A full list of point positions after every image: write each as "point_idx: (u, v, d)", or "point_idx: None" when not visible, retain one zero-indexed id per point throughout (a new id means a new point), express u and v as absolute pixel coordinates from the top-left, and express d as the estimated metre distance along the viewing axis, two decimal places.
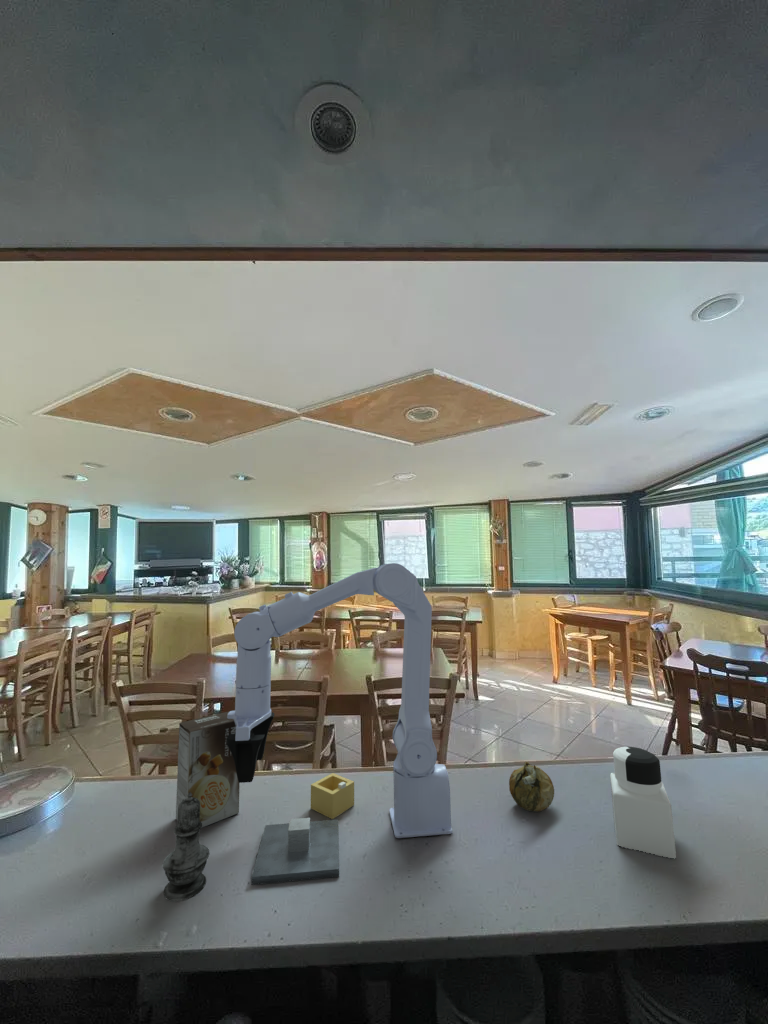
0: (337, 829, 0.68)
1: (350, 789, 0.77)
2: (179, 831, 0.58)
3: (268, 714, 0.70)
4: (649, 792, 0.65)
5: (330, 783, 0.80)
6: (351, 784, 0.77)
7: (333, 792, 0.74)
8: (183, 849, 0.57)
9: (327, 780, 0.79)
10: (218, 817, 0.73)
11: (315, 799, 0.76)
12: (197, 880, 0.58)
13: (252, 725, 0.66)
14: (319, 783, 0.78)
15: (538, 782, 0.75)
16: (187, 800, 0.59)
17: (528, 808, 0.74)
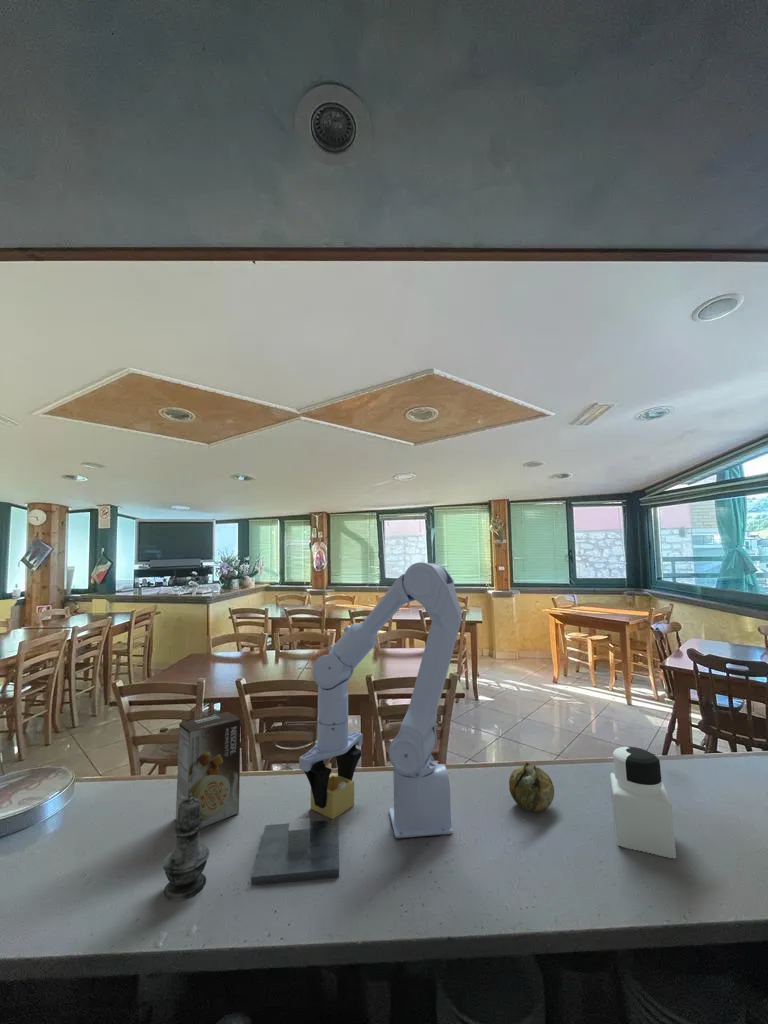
0: (337, 829, 0.68)
1: (350, 789, 0.77)
2: (179, 831, 0.58)
3: (339, 751, 0.76)
4: (649, 792, 0.65)
5: (330, 783, 0.80)
6: (351, 784, 0.77)
7: (333, 792, 0.74)
8: (183, 848, 0.57)
9: None
10: (218, 817, 0.73)
11: None
12: (197, 880, 0.58)
13: (314, 759, 0.73)
14: None
15: (538, 782, 0.75)
16: (187, 800, 0.59)
17: (528, 808, 0.74)
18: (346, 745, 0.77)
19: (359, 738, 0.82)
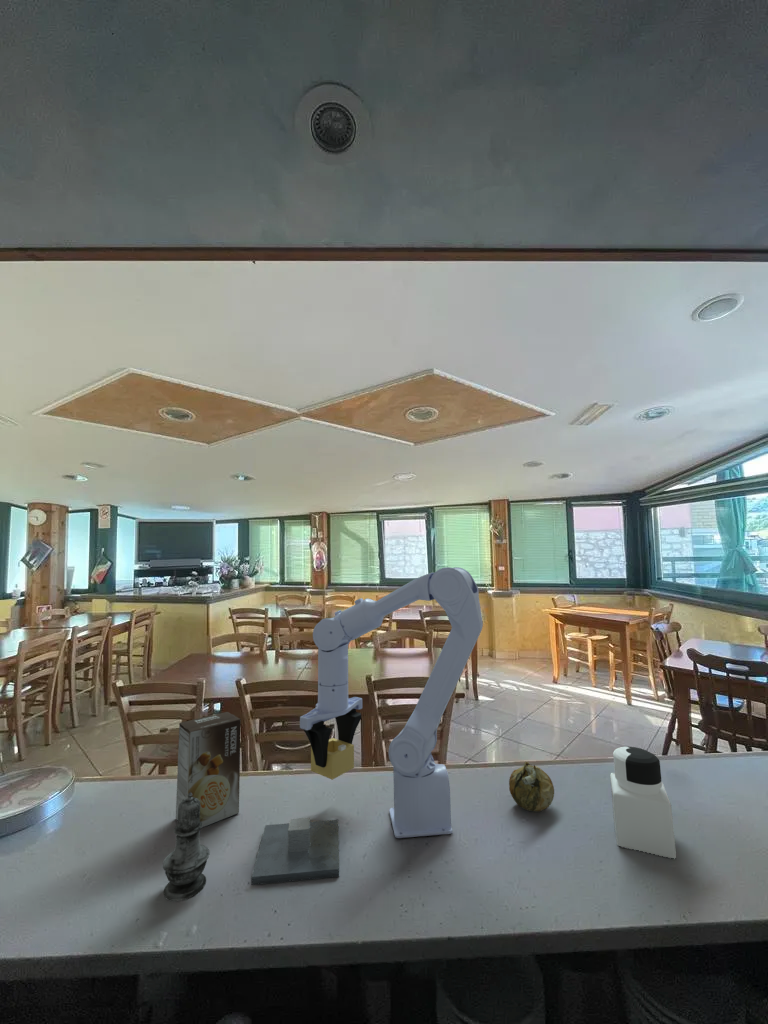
0: (337, 829, 0.68)
1: (350, 752, 0.78)
2: (179, 831, 0.58)
3: (339, 712, 0.77)
4: (649, 792, 0.65)
5: (330, 747, 0.81)
6: (351, 747, 0.78)
7: (333, 754, 0.75)
8: (183, 849, 0.57)
9: None
10: (218, 817, 0.73)
11: None
12: (197, 880, 0.58)
13: (314, 718, 0.74)
14: None
15: (538, 782, 0.75)
16: (187, 800, 0.59)
17: (528, 808, 0.74)
18: (346, 707, 0.78)
19: (359, 702, 0.83)
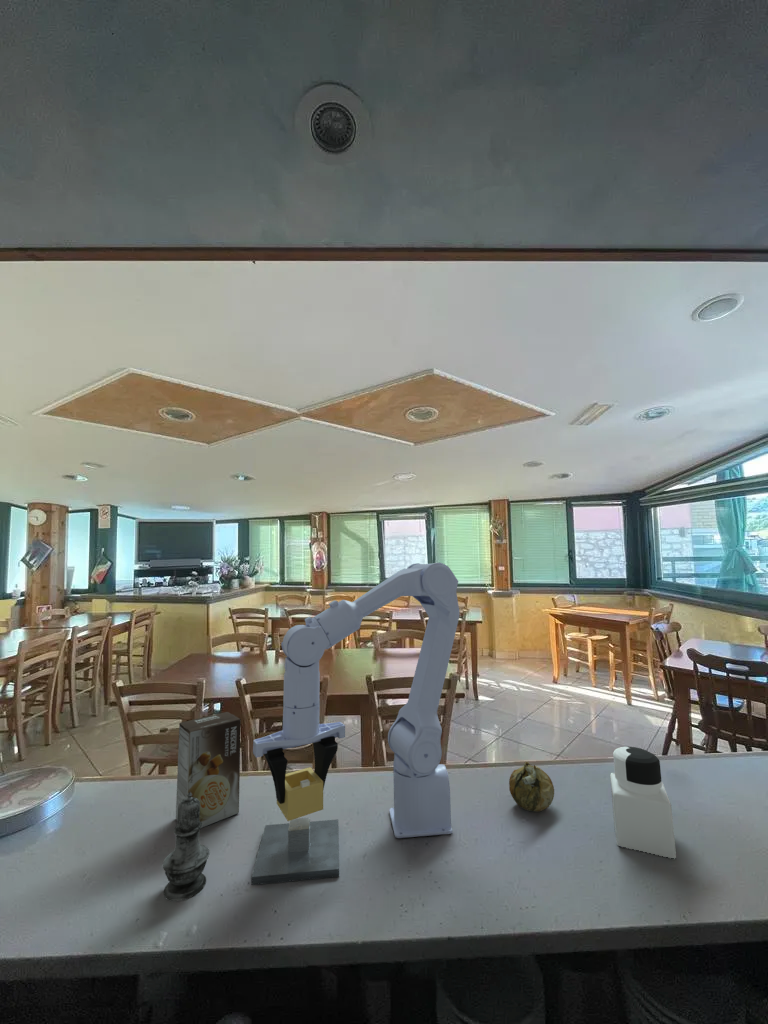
0: (337, 829, 0.68)
1: (317, 790, 0.65)
2: (179, 831, 0.58)
3: (300, 741, 0.64)
4: (649, 792, 0.65)
5: (303, 779, 0.68)
6: (318, 784, 0.65)
7: (290, 790, 0.63)
8: (182, 848, 0.57)
9: (299, 774, 0.68)
10: (218, 817, 0.73)
11: None
12: (197, 880, 0.58)
13: (267, 744, 0.63)
14: (287, 776, 0.67)
15: (538, 782, 0.75)
16: (187, 800, 0.59)
17: (528, 808, 0.74)
18: (312, 734, 0.65)
19: (339, 730, 0.69)
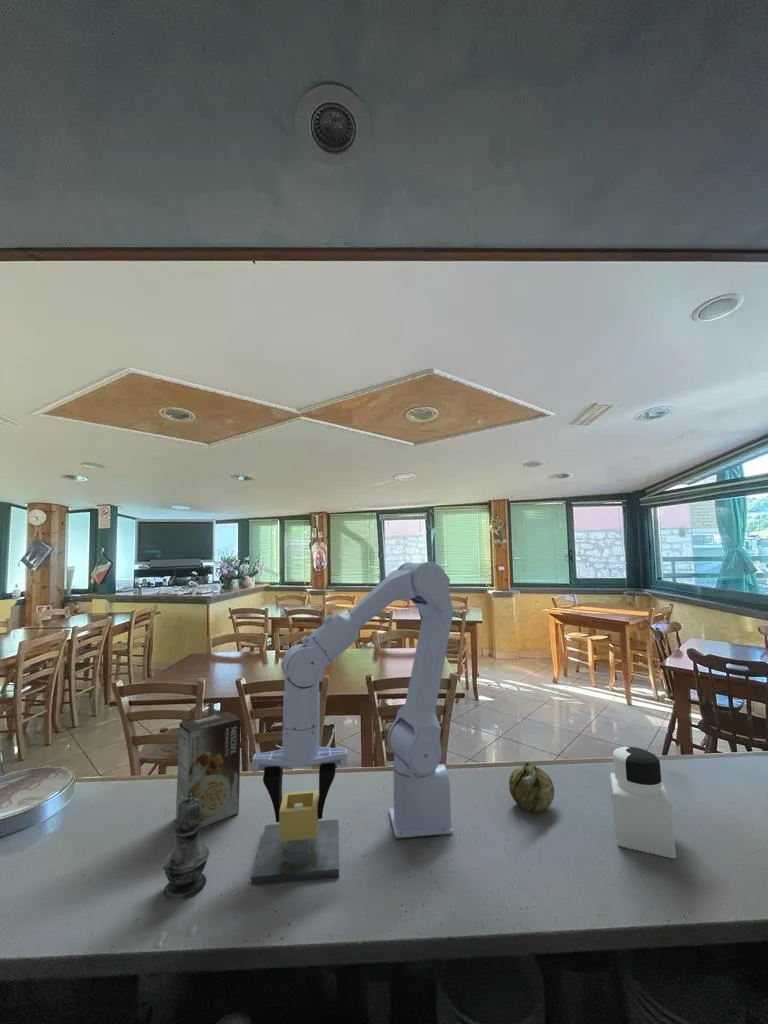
0: (337, 829, 0.68)
1: (310, 816, 0.63)
2: (179, 831, 0.58)
3: (291, 763, 0.64)
4: (649, 792, 0.65)
5: (309, 800, 0.68)
6: (312, 810, 0.63)
7: (282, 811, 0.63)
8: (182, 848, 0.57)
9: (304, 795, 0.68)
10: (218, 817, 0.73)
11: None
12: (197, 880, 0.58)
13: (262, 760, 0.65)
14: (292, 795, 0.68)
15: (538, 782, 0.75)
16: (187, 800, 0.59)
17: (528, 808, 0.74)
18: (304, 758, 0.64)
19: (340, 758, 0.66)
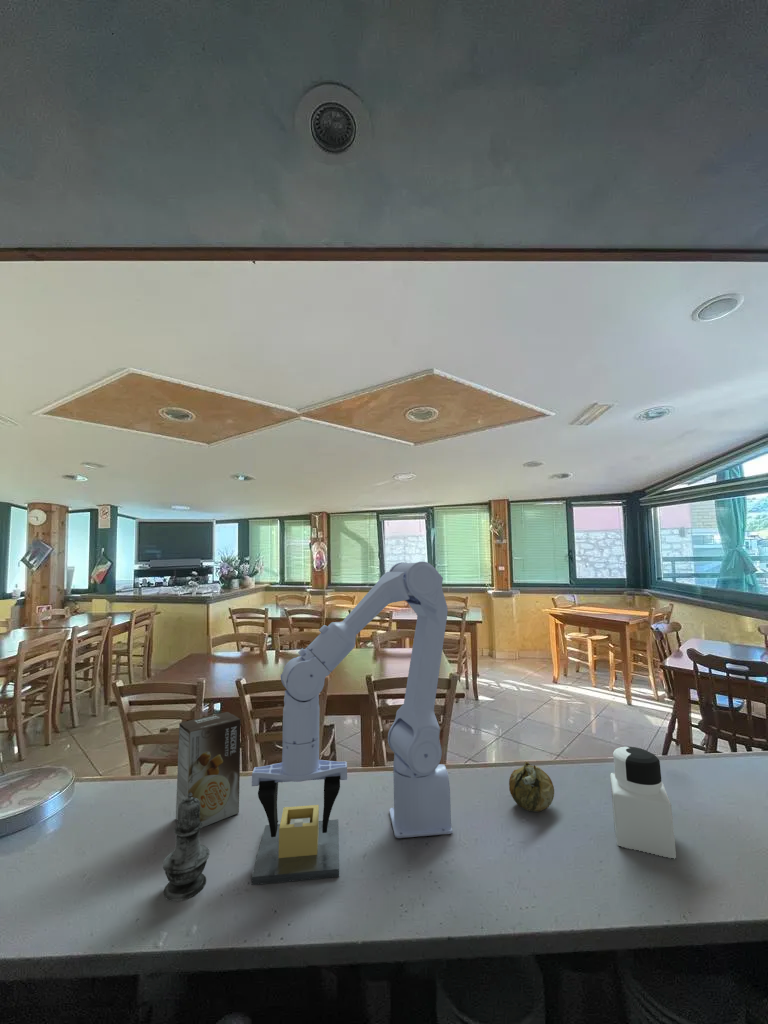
0: (337, 829, 0.68)
1: (310, 832, 0.63)
2: (179, 831, 0.58)
3: (291, 777, 0.63)
4: (649, 792, 0.65)
5: (309, 816, 0.67)
6: (312, 827, 0.63)
7: (282, 827, 0.63)
8: (183, 849, 0.57)
9: (304, 810, 0.67)
10: (218, 817, 0.73)
11: None
12: (197, 880, 0.58)
13: (261, 775, 0.64)
14: (292, 810, 0.67)
15: (538, 782, 0.75)
16: (187, 800, 0.59)
17: (528, 808, 0.74)
18: (304, 773, 0.64)
19: (340, 771, 0.66)
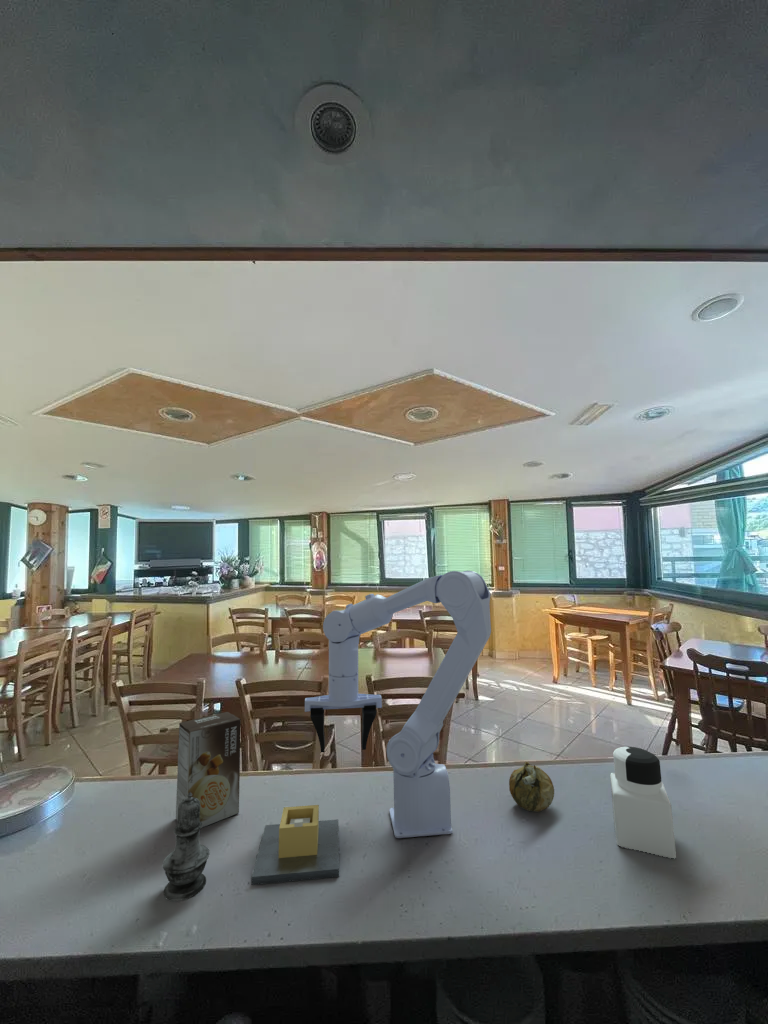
0: (337, 829, 0.68)
1: (310, 832, 0.63)
2: (179, 831, 0.58)
3: (337, 703, 0.78)
4: (649, 792, 0.65)
5: (309, 816, 0.67)
6: (312, 827, 0.63)
7: (282, 827, 0.63)
8: (182, 849, 0.57)
9: (304, 810, 0.67)
10: (218, 817, 0.73)
11: None
12: (197, 880, 0.58)
13: (312, 702, 0.79)
14: (292, 810, 0.67)
15: (538, 782, 0.75)
16: (187, 800, 0.59)
17: (528, 808, 0.74)
18: (348, 700, 0.78)
19: (376, 701, 0.80)
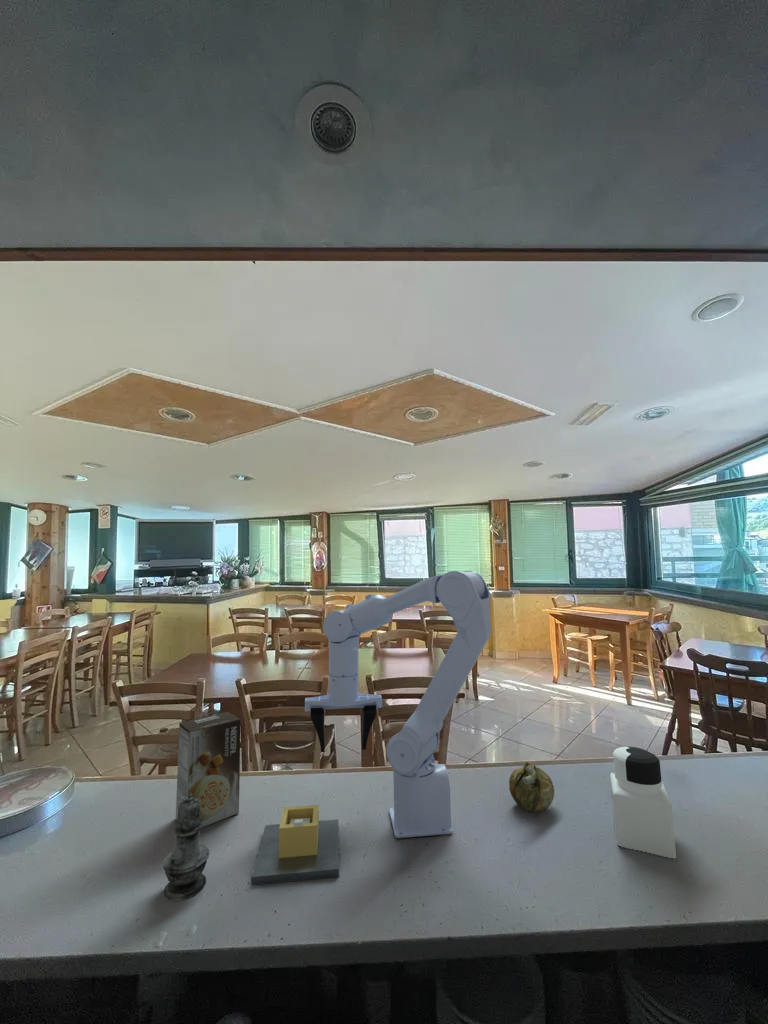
0: (337, 829, 0.68)
1: (310, 832, 0.63)
2: (179, 831, 0.58)
3: (337, 703, 0.78)
4: (649, 792, 0.65)
5: (309, 816, 0.67)
6: (312, 827, 0.63)
7: (282, 827, 0.63)
8: (182, 849, 0.57)
9: (304, 810, 0.67)
10: (218, 817, 0.73)
11: None
12: (197, 880, 0.58)
13: (313, 702, 0.79)
14: (292, 810, 0.67)
15: (538, 782, 0.75)
16: (187, 800, 0.59)
17: (528, 808, 0.74)
18: (348, 700, 0.78)
19: (376, 701, 0.80)
